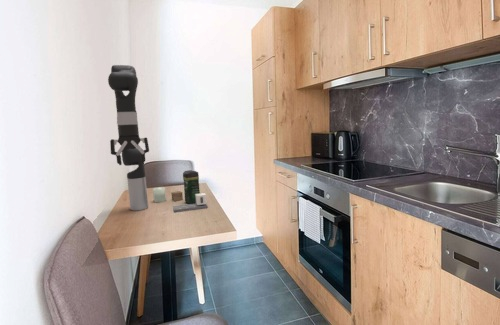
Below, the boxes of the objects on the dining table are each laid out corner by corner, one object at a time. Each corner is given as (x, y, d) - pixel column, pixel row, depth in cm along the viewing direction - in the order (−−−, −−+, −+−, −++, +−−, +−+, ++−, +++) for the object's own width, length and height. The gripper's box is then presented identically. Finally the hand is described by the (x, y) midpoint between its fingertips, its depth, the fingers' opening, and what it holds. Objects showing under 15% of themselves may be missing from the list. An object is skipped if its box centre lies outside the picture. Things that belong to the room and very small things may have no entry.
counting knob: (195, 203, 155) (195, 194, 154) (205, 201, 156) (204, 192, 156) (197, 205, 149) (196, 196, 149) (206, 204, 151) (206, 194, 150)
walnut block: (172, 200, 172) (171, 192, 172) (179, 198, 175) (179, 190, 174) (174, 201, 168) (174, 193, 168) (182, 200, 171) (182, 192, 170)
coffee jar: (202, 202, 163) (200, 170, 161) (189, 205, 158) (187, 172, 156) (195, 199, 171) (193, 168, 169) (183, 201, 166) (180, 170, 164)
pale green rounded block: (153, 200, 174) (152, 187, 173) (165, 199, 176) (164, 186, 175) (153, 203, 167) (152, 189, 166) (166, 201, 169) (165, 188, 168)
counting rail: (173, 208, 153) (173, 205, 152) (204, 204, 158) (204, 201, 158) (174, 212, 145) (174, 209, 145) (207, 207, 150) (207, 205, 150)
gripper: (146, 123, 120) (150, 161, 122) (109, 124, 115) (113, 164, 117) (146, 123, 112) (150, 163, 115) (106, 124, 108) (111, 166, 110)
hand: (131, 163), depth 116 cm, fingers open, 8 cm apart
